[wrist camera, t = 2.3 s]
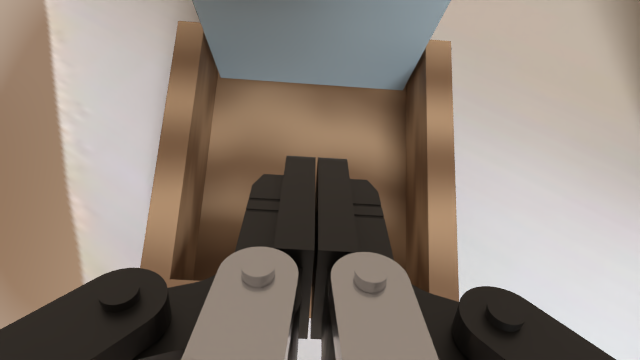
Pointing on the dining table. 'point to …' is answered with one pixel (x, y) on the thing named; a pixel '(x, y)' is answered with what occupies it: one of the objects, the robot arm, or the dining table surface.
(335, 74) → the flat rectangular panel
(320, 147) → the open wooden box
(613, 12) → the dining table surface
